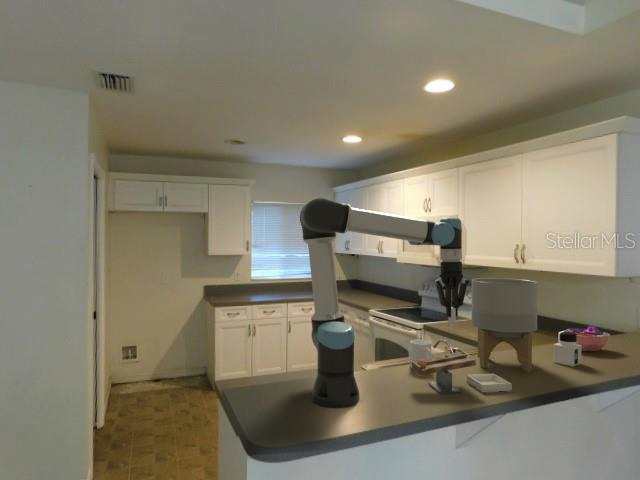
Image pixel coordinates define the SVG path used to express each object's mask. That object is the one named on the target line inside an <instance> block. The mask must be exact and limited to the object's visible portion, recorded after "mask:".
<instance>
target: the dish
mask: <svg viewBox="0 0 640 480" xmlns="http://www.w3.org/2000/svg"><path fill="white" fill-rule="evenodd" d="M466 383H467V384H468V385H470V386H472V387H473V388H475V389H476V390H477V391H479V392H481V393H482V394H484V393H483V392H487V393H500V392H499V391H506V392H512V391H513V390H512V389H513V387H512V386H513V385H512V383H511V382H509V381H507V380H506V379H505V378H503V377H501V376H499V375H498V374H496V373H482V374H481V373H480V374H479V373H478V374H476V373H475V374H466Z"/></svg>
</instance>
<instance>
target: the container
mask: <svg viewBox="0 0 640 480" xmlns="http://www.w3.org/2000/svg"><path fill="white" fill-rule="evenodd" d="M557 337H558V338H557V339H558V342H557V343H554V344H553V351H552V352H553V355H552V357H553V359H552V360H553V363H555V364H559V365H564V366H568V367H576V366H578V365H581V364H582V350H581V345H577V335H576V334H575V333H573V332H569V331H564V330H562V331H559V332H558V335H557Z"/></svg>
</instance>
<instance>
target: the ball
mask: <svg viewBox="0 0 640 480" xmlns="http://www.w3.org/2000/svg"><path fill="white" fill-rule="evenodd" d="M417 364H418V365H420V366H421V368H422V369H424V368H425V367H426V366H427V362H426V361H425V360H424V359H420V360H418V362H417Z"/></svg>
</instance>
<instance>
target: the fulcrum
mask: <svg viewBox="0 0 640 480" xmlns="http://www.w3.org/2000/svg"><path fill="white" fill-rule="evenodd" d="M435 374H436V377H435V378H436V379H435V381H428V382H427V384H428V386H430V387H431V388H432V389H433V390H435V391H436V393H438V394H439V395H456V394H458V395H459V394H460V395H461V390H460V389H458V388H457V387H456V386H454V385H453V373H452V372H450V370H449V371H444V372H438V373H435Z"/></svg>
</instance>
